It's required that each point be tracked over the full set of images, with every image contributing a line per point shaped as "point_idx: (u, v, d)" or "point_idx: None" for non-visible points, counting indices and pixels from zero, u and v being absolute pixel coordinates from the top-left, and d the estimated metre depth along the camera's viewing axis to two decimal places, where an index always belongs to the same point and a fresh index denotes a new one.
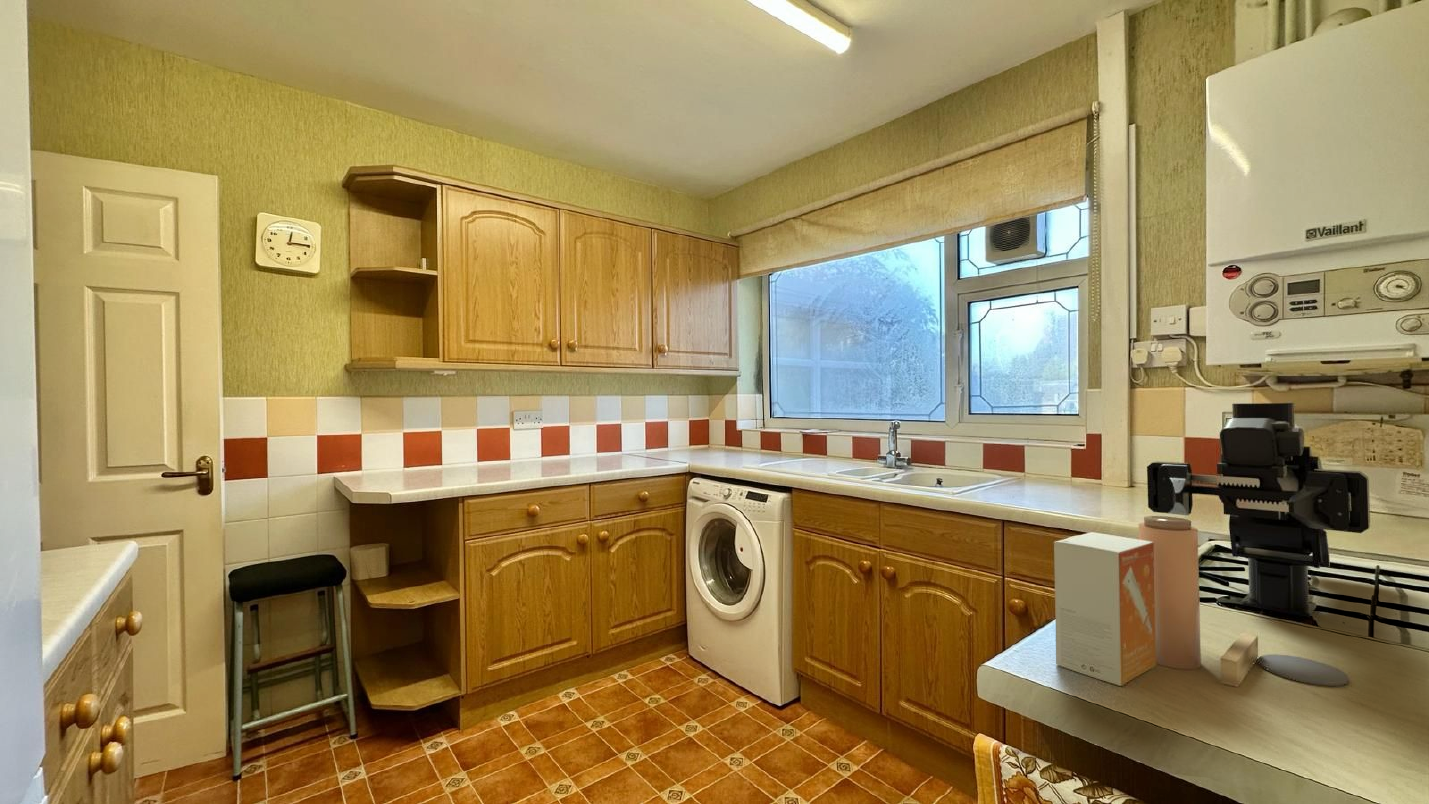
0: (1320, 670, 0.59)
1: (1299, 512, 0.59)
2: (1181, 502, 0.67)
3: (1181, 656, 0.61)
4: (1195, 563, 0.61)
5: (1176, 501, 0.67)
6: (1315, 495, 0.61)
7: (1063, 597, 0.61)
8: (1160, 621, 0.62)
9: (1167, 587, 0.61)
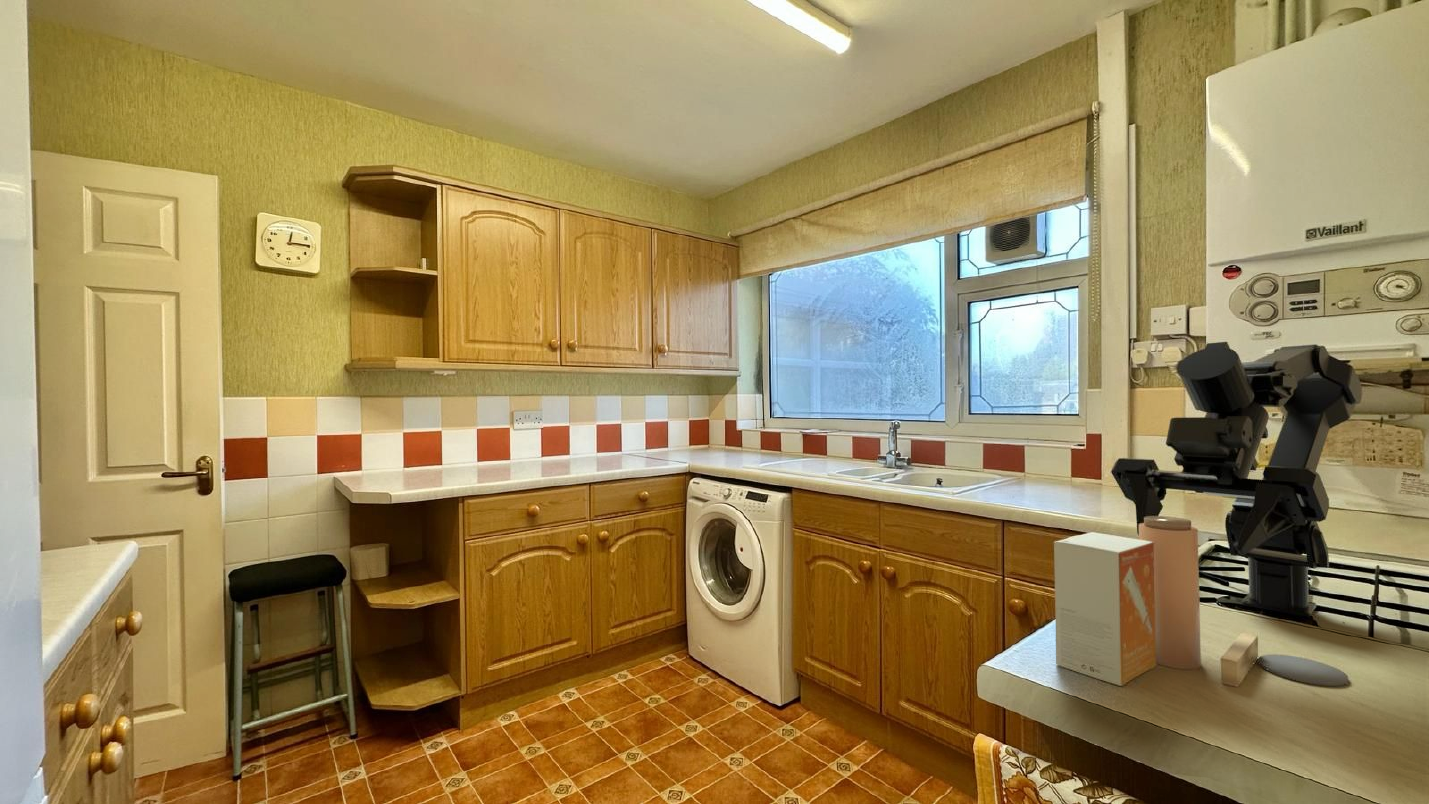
0: (1320, 670, 0.59)
1: (1250, 548, 0.62)
2: None
3: (1181, 656, 0.61)
4: (1195, 563, 0.61)
5: None
6: (1264, 519, 0.62)
7: (1063, 597, 0.61)
8: (1160, 621, 0.62)
9: (1167, 587, 0.61)
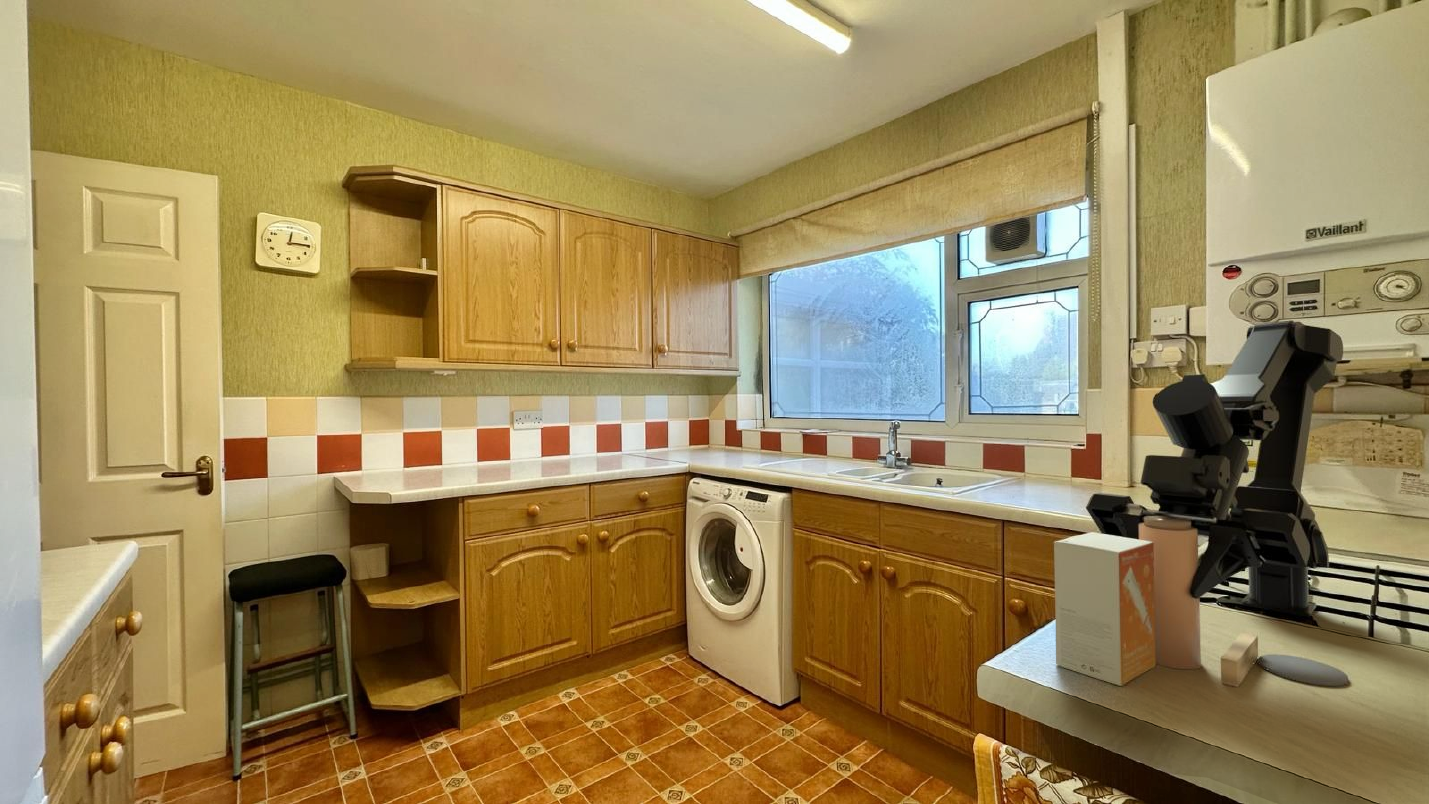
0: (1320, 670, 0.59)
1: (1203, 592, 0.60)
2: None
3: (1181, 656, 0.61)
4: (1195, 563, 0.61)
5: None
6: (1218, 562, 0.60)
7: (1063, 597, 0.61)
8: (1160, 621, 0.62)
9: (1167, 587, 0.61)
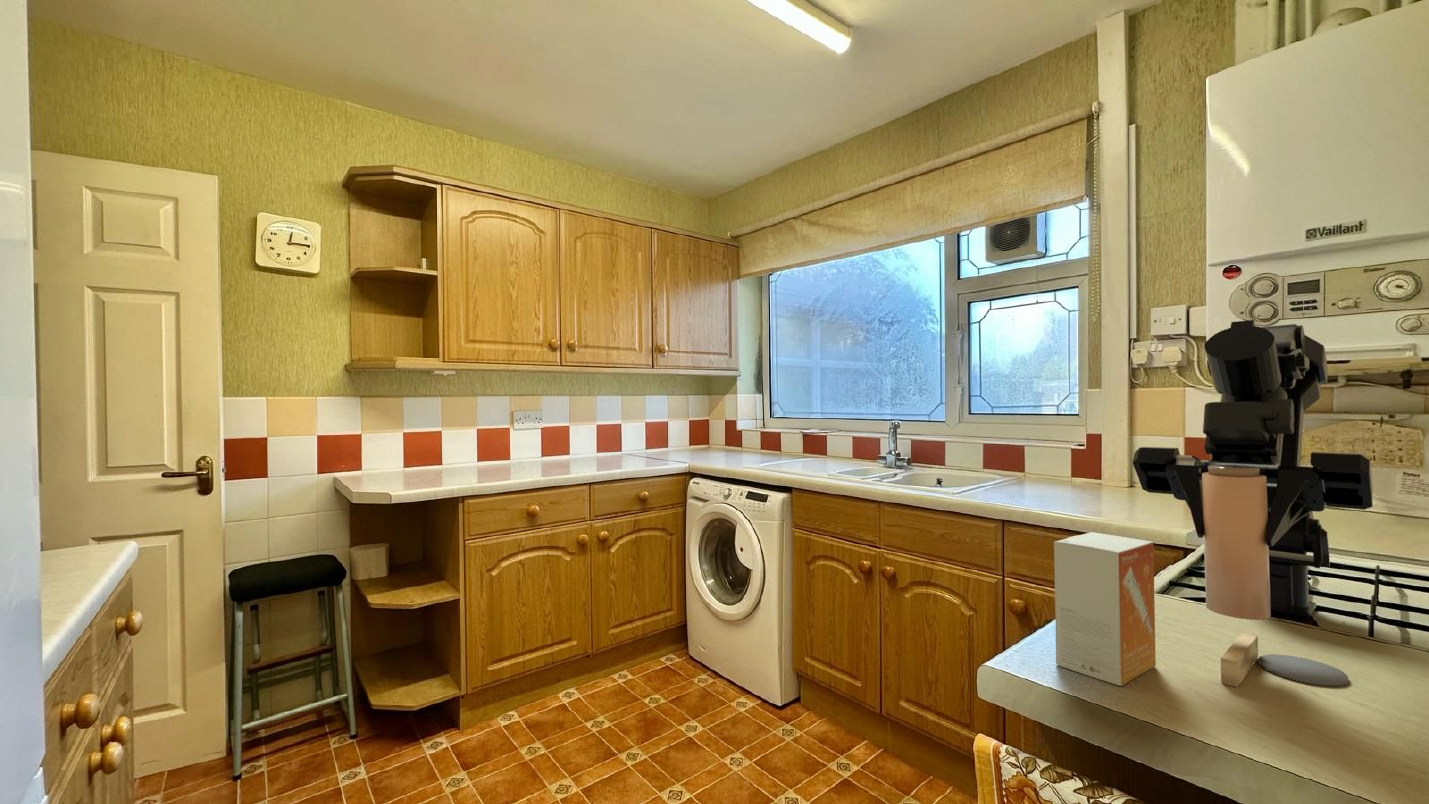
0: (1320, 670, 0.59)
1: (1277, 539, 0.59)
2: (1203, 532, 0.63)
3: (1256, 606, 0.59)
4: (1266, 510, 0.59)
5: (1199, 537, 0.63)
6: (1289, 507, 0.59)
7: (1063, 597, 0.61)
8: (1233, 572, 0.59)
9: (1241, 536, 0.59)
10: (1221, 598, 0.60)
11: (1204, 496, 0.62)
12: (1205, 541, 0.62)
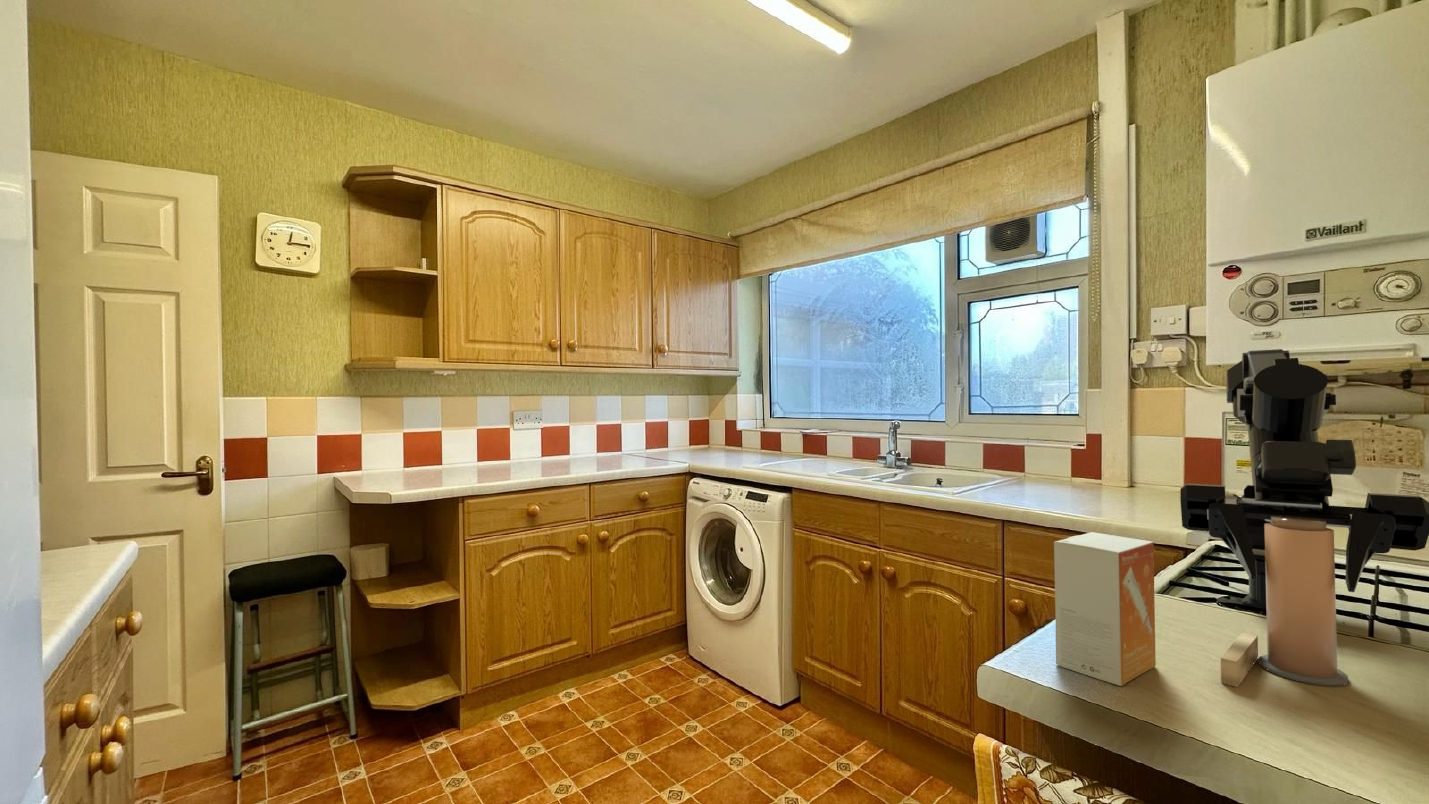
0: None
1: (1356, 584, 0.57)
2: None
3: (1328, 664, 0.57)
4: (1334, 564, 0.58)
5: (1252, 579, 0.61)
6: (1367, 551, 0.57)
7: (1063, 597, 0.61)
8: (1306, 629, 0.58)
9: (1314, 592, 0.58)
10: (1292, 655, 0.59)
11: (1270, 549, 0.60)
12: (1270, 595, 0.60)
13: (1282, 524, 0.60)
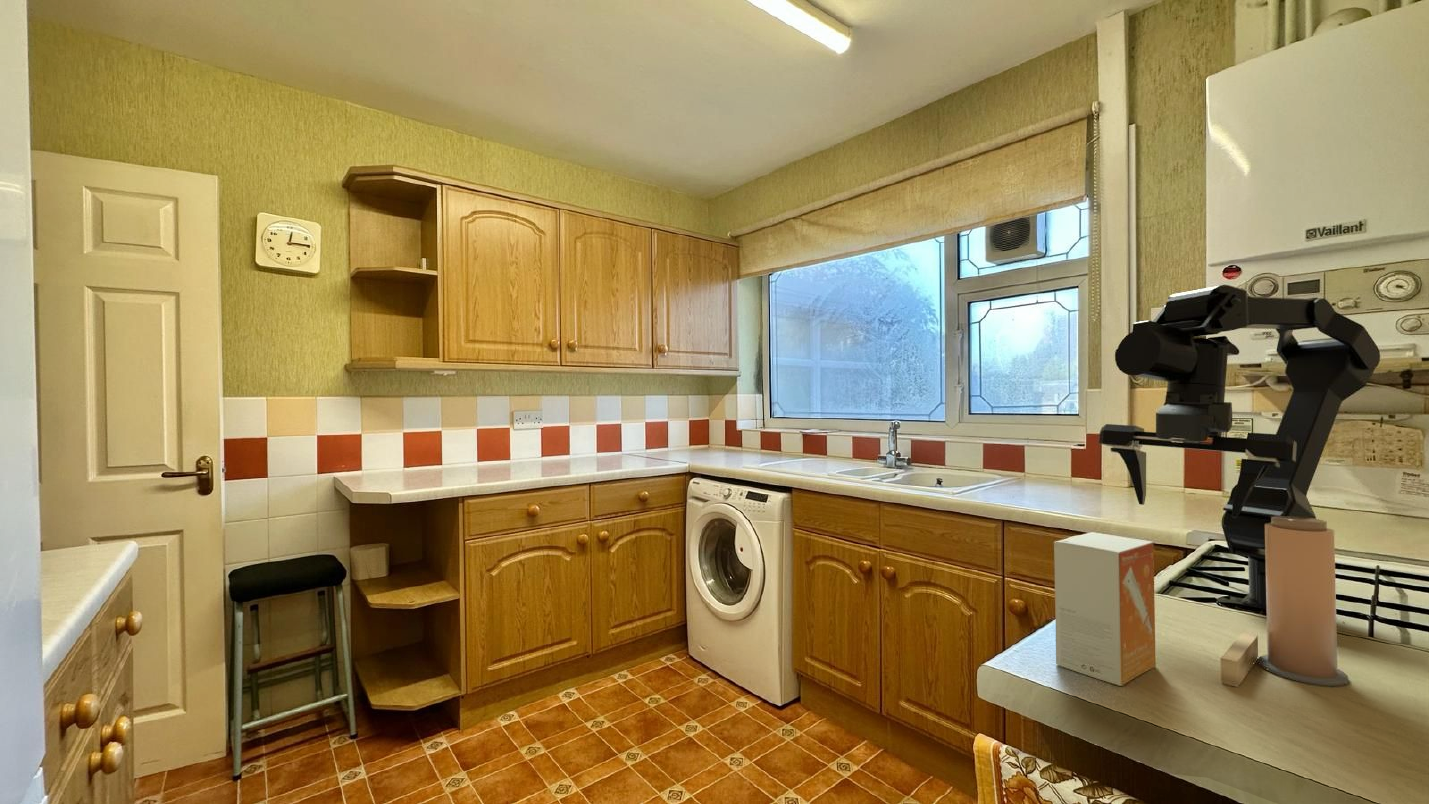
0: None
1: (1241, 510, 0.71)
2: (1144, 498, 0.78)
3: (1328, 664, 0.57)
4: (1334, 564, 0.58)
5: None
6: (1251, 486, 0.69)
7: (1063, 597, 0.61)
8: (1306, 629, 0.58)
9: (1314, 592, 0.58)
10: (1292, 656, 0.58)
11: (1270, 549, 0.60)
12: (1270, 595, 0.60)
13: (1282, 524, 0.60)
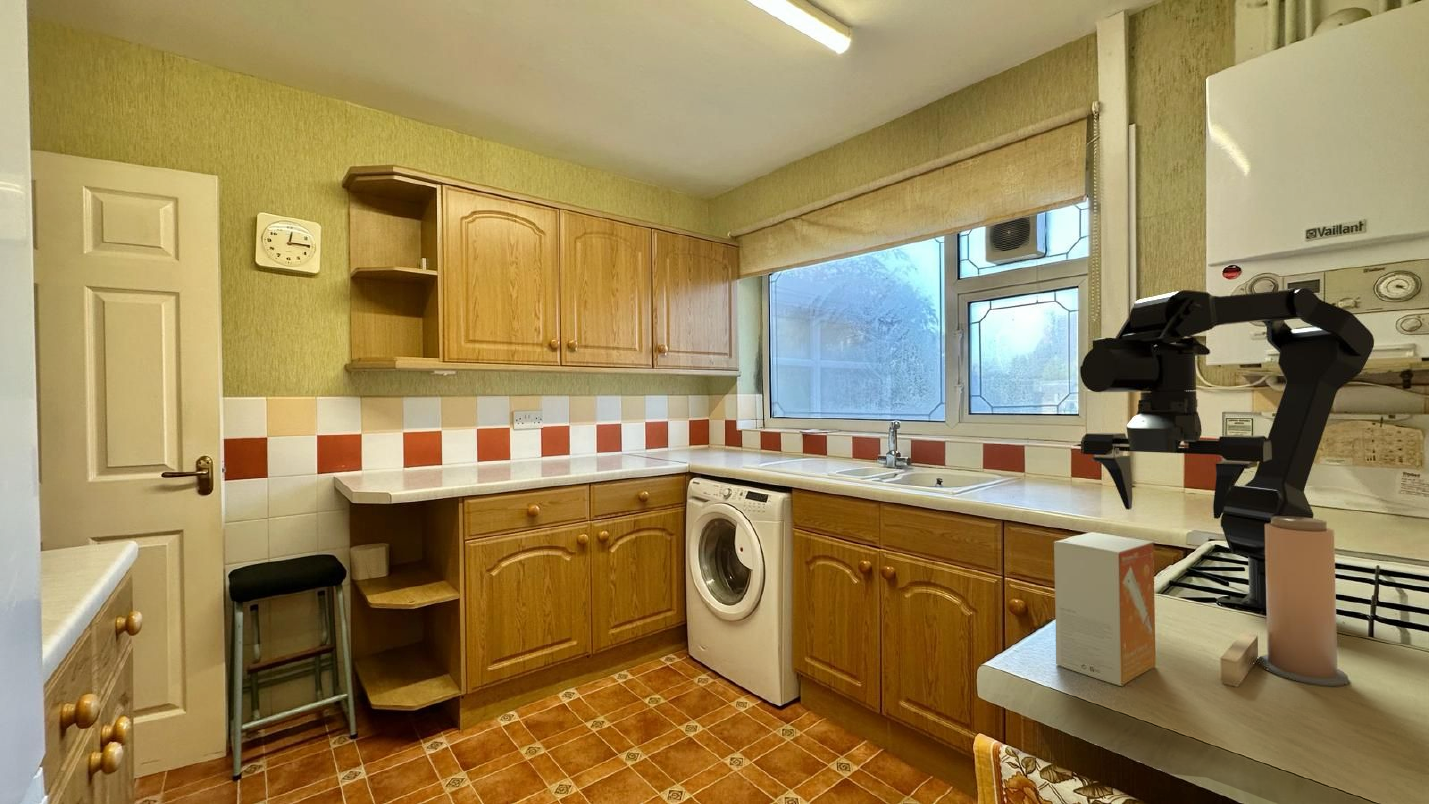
0: None
1: (1222, 510, 0.73)
2: (1131, 503, 0.80)
3: (1328, 664, 0.57)
4: (1334, 564, 0.58)
5: None
6: (1228, 487, 0.71)
7: (1063, 597, 0.61)
8: (1306, 630, 0.58)
9: (1314, 592, 0.58)
10: (1292, 656, 0.58)
11: (1270, 549, 0.60)
12: (1270, 595, 0.60)
13: (1282, 524, 0.59)
